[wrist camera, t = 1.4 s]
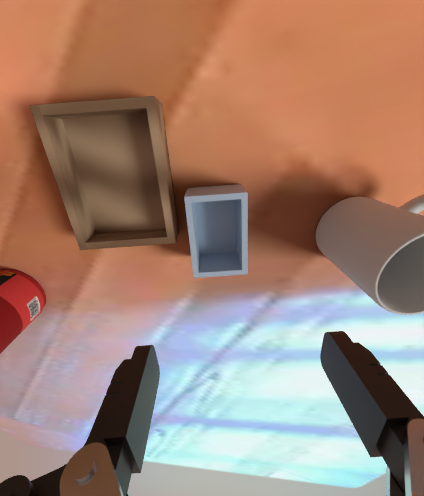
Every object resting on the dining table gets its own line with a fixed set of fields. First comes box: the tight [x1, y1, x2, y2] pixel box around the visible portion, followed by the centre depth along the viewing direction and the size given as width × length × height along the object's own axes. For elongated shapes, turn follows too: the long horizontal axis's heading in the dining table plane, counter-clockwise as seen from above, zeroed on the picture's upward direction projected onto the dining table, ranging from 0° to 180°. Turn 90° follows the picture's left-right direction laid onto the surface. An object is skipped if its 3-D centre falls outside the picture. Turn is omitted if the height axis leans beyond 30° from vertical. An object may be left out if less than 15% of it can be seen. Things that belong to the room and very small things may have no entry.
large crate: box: [29, 96, 179, 250], centre depth 23 cm, size 14×11×4 cm
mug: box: [315, 195, 424, 315], centre depth 23 cm, size 12×8×11 cm
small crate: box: [184, 184, 248, 278], centre depth 25 cm, size 9×6×5 cm, turn 4°
